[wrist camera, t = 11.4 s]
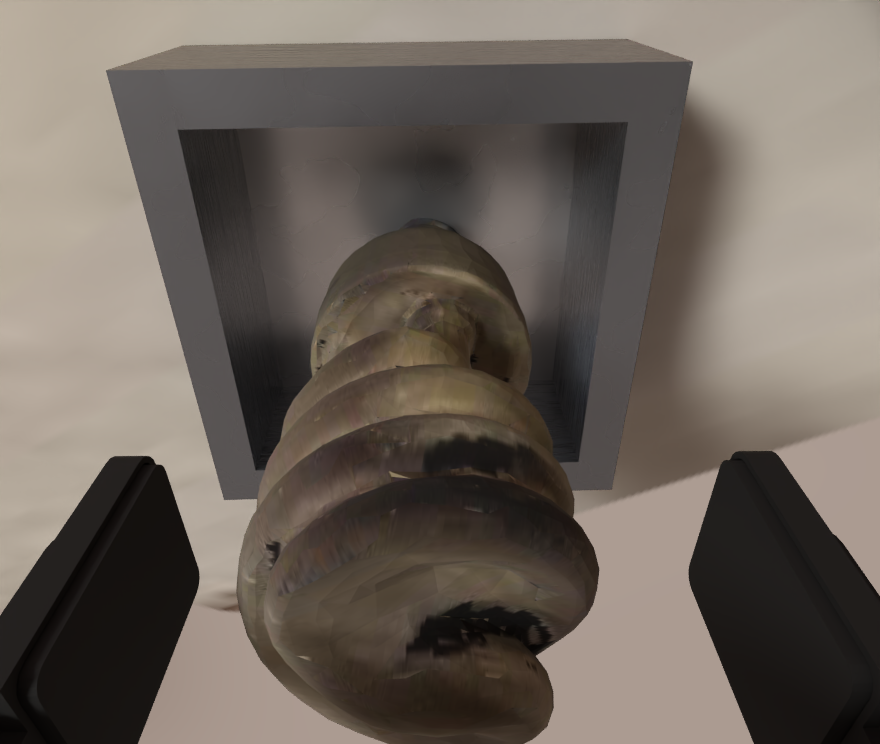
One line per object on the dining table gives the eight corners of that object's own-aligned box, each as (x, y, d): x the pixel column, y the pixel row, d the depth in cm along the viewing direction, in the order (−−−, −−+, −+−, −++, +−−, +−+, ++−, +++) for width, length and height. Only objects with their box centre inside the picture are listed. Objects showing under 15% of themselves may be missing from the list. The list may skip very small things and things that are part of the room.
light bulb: (488, 337, 22) (574, 828, 10) (333, 324, 22) (212, 820, 9) (516, 179, 19) (699, 598, 7) (337, 159, 19) (162, 569, 6)
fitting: (627, 39, 17) (693, 61, 13) (578, 399, 24) (611, 489, 20) (182, 45, 17) (105, 70, 13) (258, 406, 24) (224, 499, 20)
